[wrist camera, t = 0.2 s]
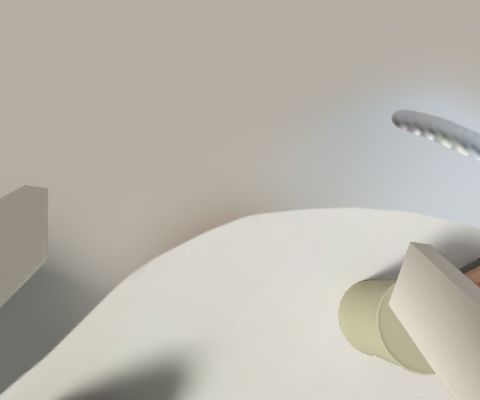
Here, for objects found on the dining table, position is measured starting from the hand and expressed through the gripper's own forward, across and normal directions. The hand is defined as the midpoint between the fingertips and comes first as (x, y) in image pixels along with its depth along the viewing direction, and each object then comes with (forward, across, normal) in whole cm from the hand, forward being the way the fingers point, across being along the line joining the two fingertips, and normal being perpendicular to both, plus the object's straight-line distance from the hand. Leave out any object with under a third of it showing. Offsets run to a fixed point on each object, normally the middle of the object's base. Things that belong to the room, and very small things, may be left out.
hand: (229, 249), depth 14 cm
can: (+28, -22, +20) cm, 41 cm away
